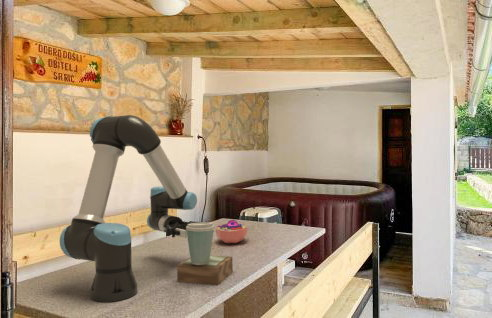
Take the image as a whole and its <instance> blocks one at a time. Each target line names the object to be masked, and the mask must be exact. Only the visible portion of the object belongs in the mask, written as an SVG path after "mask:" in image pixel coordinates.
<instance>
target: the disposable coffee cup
mask: <svg viewBox="0 0 492 318" xmlns="http://www.w3.org/2000/svg"><path fill="white" fill-rule="evenodd" d="M205 222H206V221H205ZM207 222H208V221H207ZM207 222H206V223H191V224H188V225H187V226H186V230H187V243H188V251H189V258H191V262H192V264H194V265H205V264H208V263H209V260H210V255H211V252H212V246H213V239H214V238H213V237H214V233H215V232H214V229H215V230H216V225H215V224H214V222H209V223H207ZM214 225H215V226H214Z"/></svg>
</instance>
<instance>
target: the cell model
mask: <svg viewBox="0 0 492 318" xmlns="http://www.w3.org/2000/svg"><path fill="white" fill-rule="evenodd" d="M215 234H216V237H217V238H218V239H219V240H221V241H222V242H224V243H225V244H238V243H240V242H241V241H243V240H244V239H245V238H246V237H247V235H248V226H247V225H246V224H244V223H238V222H237V220H235V219H230V220H228V221H227V223H223V224H221V223H220V224H219V225H215Z"/></svg>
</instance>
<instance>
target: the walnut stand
mask: <svg viewBox="0 0 492 318" xmlns="http://www.w3.org/2000/svg"><path fill="white" fill-rule="evenodd" d="M233 263H234V262H233V256H229V255H227V256H226V255H212V254H210V260H209V263H208V264H205V265H194V264H192V262H191V258H190V257H188V258H187V259H185V260H184V261H182V262H180V263H179V264H177V265H176V271H177V272H176V279H177V280H176V281H177V282H180V283H188V284H189V283H190V284H191V283H192V284H203V285H215V286H219V285H220V284H221V283H222V282H223V281H224V280H225V279H226V278H228V277H229V276H230V275H231V274H233V272H234V271H233V270H234V269H233V267H234V266H233Z"/></svg>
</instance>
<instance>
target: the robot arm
mask: <svg viewBox="0 0 492 318" xmlns="http://www.w3.org/2000/svg"><path fill="white" fill-rule="evenodd" d="M89 130H90V131H89V137H90V141H91V143H92V149H93V150H94V152H95V153H94V156H93V160H92V163H91V168H90V170H89V174H88V178H87V180H86V181H87V182H86V184H85V185H86V186H85V189H84V192H83V196H82V200H81V203H80V207H79V211H78V214H76V215H75V216H74V217H72V218H71V219H72V220H71V222H70V224H69V225H67V226H65V228H64V229H63V230H62V231H61V233H60V234H59V236H60V237H59V247H60V249H61V251H62V254H64V255H65V256H67V257H68V258H71V259H75V260H83V261H89V262H94V263H95V273H94V278H93V281H92V284H91V287H90V288H91V289H90V299H91V300H92V301H96V302H102V303H108V302H109V303H110V302H118V301H123V300H126V299H130V298H131V297H133V296H135V295H136V294H137V293H138V283H137V281H136V277H135V275H134V272H133V268H132V266H133V265H132V235H131V229H130V227H129V226H128V225H126V224H123V223H116V222H114V223H113V222H106V221H105V219H104V216H105V212H106V209H107V204H108V201H109V196H110V192H111V189H112V185H113V180H114V177H115V173H116V168H117V165H118V162H119V158H120V157H122V156H123V155H124V154H125V150H126V147H132V148H134V149H135V150H136V151H137V153H138V154H140V155H142V156H143V157H144V159H145V160H146V163H148V165H149V167H150V168H151V170H152V171H153V173H154V175H155V176H156V177H157V179H158V181H159V183H160V184H161V186H153V187H151V188H150V196H149V199H150V214H149V215H148V217H147V219H146V224H147V226H148V227H149V228H150V229H152V230H154V231H159V232H163V233H165V234H166V236H167V237H169V236H171V238H176V237H180V238H183V239H186V238H187V239H188V237H187V230H186V226H187V225H188V224H191V223H206V222H207V223H210V222H209V221H207V220H205V222H204V221H193V220H191V221H190V220H189V221H185V220H184V221H183V219H182V218H181V217H179V216H174V215H171V214H169V210H170V209H171V210H183V211H186V210H187V211H190V210H194V209H195V208H196V206H197V203H198V198H197V194H196V193H194V192H193V191H188V190H187V188H186V187H185V185H184V183H183V181H182V179H181V178H180V176H179V174H178V173H177V171H176V170H175V167H174V166H173V164H172V163H171V161H170V159H169V158H168V156H167V154H166V152H165V151H164V149H163V148H162V146H161V143H162V141H161V139H160V137H159V135H158V134H157V132H156V131H155V130H154V129H153V127H152V126H151V125H150V124H149V123H148V122H146V121H145V120H144V119H142V118H140V117H139V116H137V115H132V114H127V115H115V116H113V115H112V116H111V115H110V116H109V115H108V116H107V115H106V116H104V117H103V116H102V117H100V118H97V119H96V120H94V122H93V123H92V125H91V126H90V128H89ZM213 225H214V226H215V227H216V225H215V224H213ZM213 233H216V228H215V229H214V232H213Z"/></svg>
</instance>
